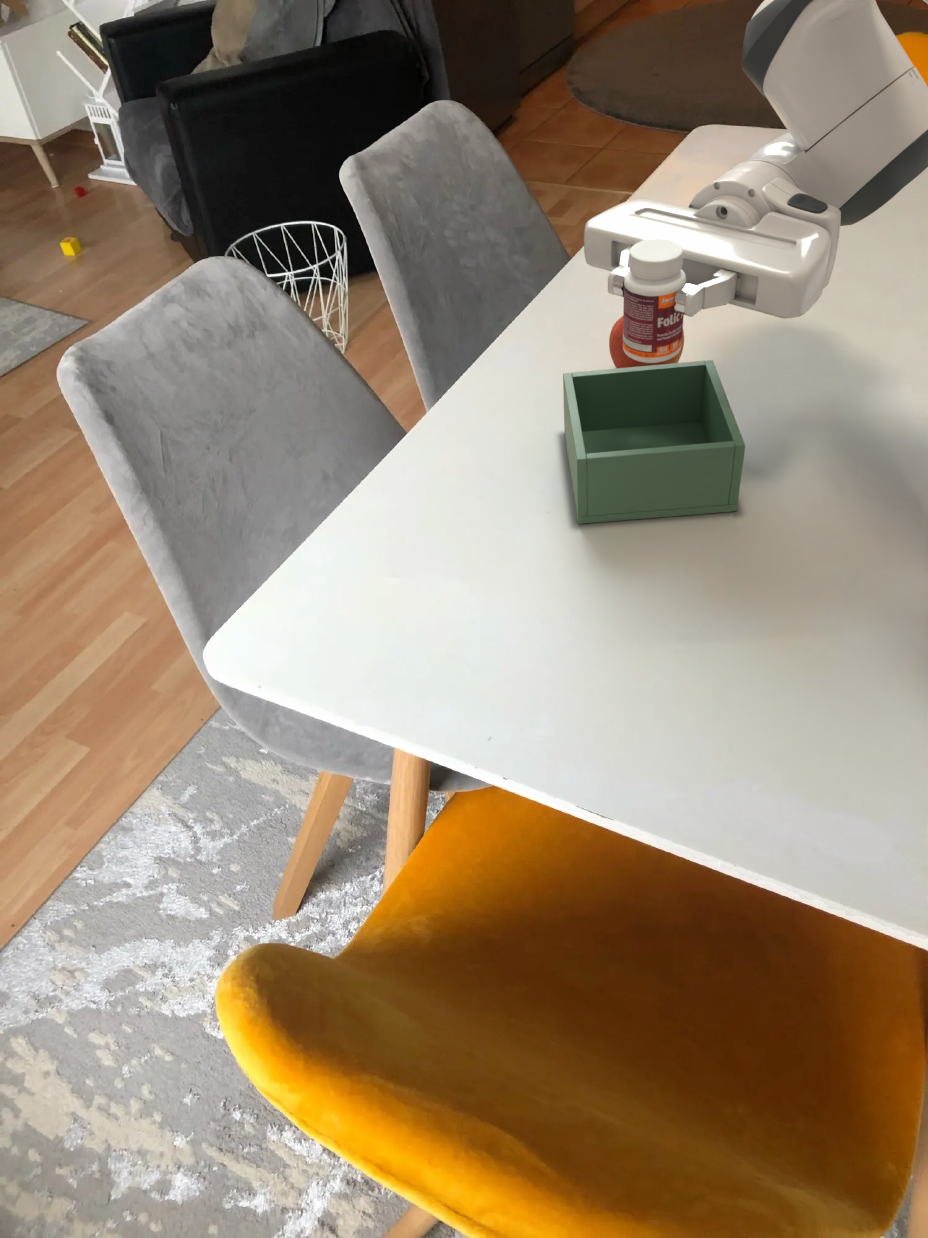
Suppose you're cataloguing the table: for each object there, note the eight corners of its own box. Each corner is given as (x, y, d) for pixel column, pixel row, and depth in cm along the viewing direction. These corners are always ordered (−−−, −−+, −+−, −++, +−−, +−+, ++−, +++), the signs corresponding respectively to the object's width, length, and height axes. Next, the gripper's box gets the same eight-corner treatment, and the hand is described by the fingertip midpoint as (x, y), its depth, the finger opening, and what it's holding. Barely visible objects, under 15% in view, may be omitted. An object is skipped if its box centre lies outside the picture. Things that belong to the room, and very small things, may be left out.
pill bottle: (663, 370, 76) (669, 268, 70) (611, 355, 78) (612, 256, 72) (692, 342, 78) (700, 242, 72) (641, 329, 81) (644, 231, 75)
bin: (706, 423, 92) (712, 359, 87) (736, 511, 82) (745, 445, 77) (564, 435, 93) (562, 373, 88) (578, 524, 83) (577, 459, 78)
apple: (685, 362, 100) (690, 289, 94) (676, 400, 95) (681, 326, 89) (615, 358, 102) (616, 287, 96) (603, 396, 97) (603, 323, 91)
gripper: (636, 167, 84) (540, 228, 77) (861, 213, 74) (772, 288, 67) (634, 237, 89) (543, 301, 82) (846, 290, 78) (761, 368, 71)
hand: (648, 296), depth 74 cm, fingers closed on pill bottle, 5 cm apart
